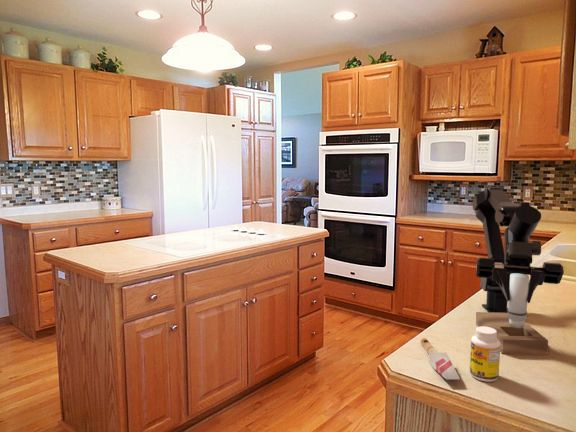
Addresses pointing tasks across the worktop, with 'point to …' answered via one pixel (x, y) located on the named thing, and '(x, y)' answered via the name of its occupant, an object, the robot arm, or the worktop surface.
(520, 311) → the peg
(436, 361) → the paintbrush
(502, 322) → the brown holed block
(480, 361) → the supplement bottle
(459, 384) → the worktop surface
